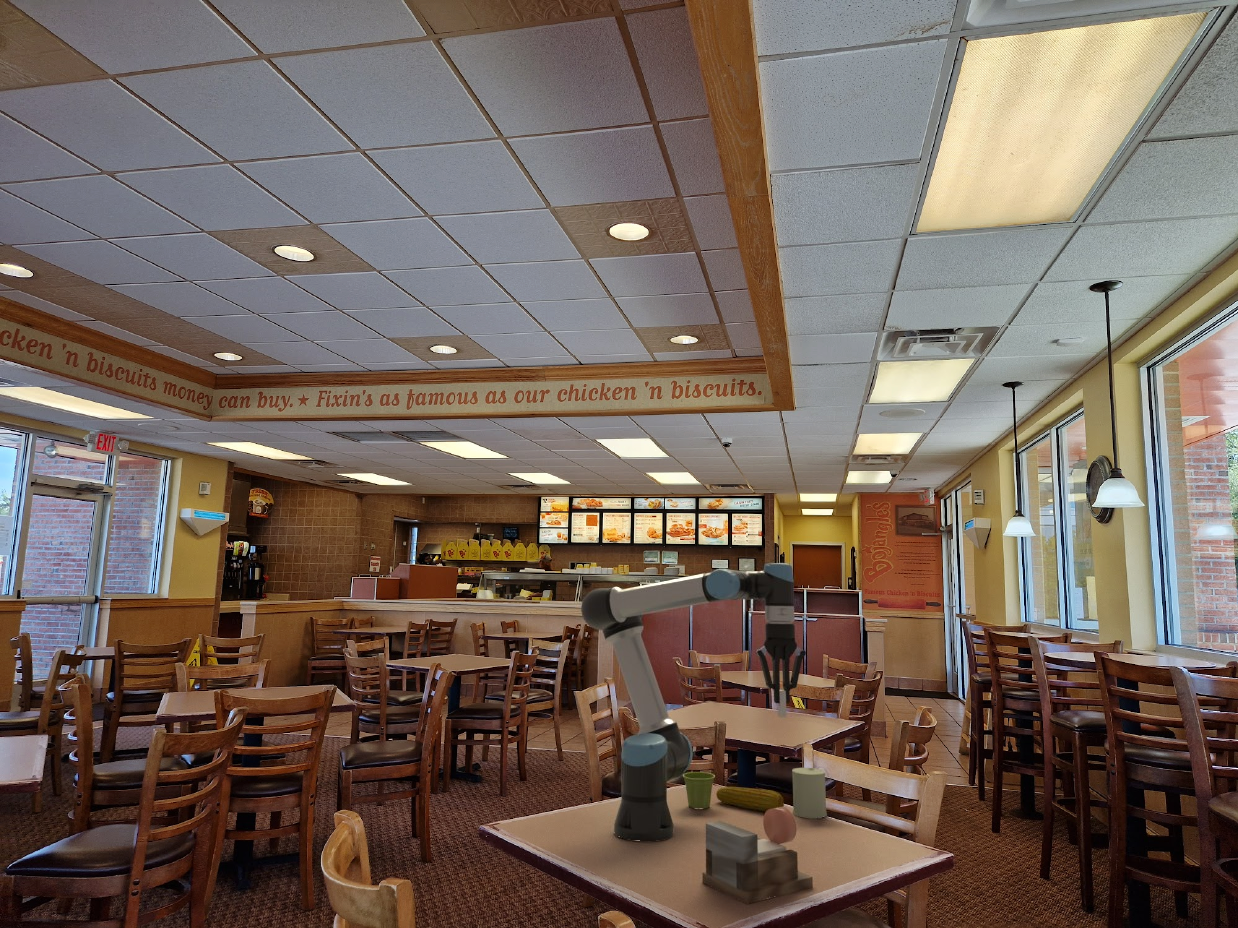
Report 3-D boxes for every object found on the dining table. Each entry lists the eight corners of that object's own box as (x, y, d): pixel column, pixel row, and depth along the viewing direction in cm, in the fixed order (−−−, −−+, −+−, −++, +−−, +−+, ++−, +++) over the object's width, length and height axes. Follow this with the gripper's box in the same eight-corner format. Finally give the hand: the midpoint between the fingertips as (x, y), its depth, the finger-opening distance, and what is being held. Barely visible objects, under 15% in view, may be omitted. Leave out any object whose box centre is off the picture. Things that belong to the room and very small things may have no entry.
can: (829, 812, 222) (828, 767, 224) (823, 820, 214) (822, 773, 216) (796, 808, 226) (795, 764, 228) (789, 815, 218) (788, 770, 220)
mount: (747, 904, 154) (746, 838, 156) (702, 882, 165) (702, 821, 167) (812, 887, 163) (811, 825, 165) (765, 867, 175) (764, 810, 177)
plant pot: (681, 810, 222) (681, 777, 224) (684, 801, 232) (683, 770, 233) (714, 811, 221) (714, 779, 222) (716, 803, 230) (715, 772, 231)
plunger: (751, 882, 159) (750, 819, 161) (728, 871, 165) (728, 811, 167) (797, 870, 166) (796, 810, 168) (774, 861, 172) (773, 803, 174)
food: (786, 812, 222) (785, 790, 223) (777, 816, 217) (776, 794, 218) (720, 800, 234) (720, 779, 235) (711, 804, 230) (710, 782, 231)
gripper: (758, 622, 202) (760, 718, 197) (808, 623, 202) (811, 718, 198) (752, 622, 209) (753, 714, 205) (800, 622, 210) (803, 714, 205)
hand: (782, 716), depth 201 cm, fingers closed
